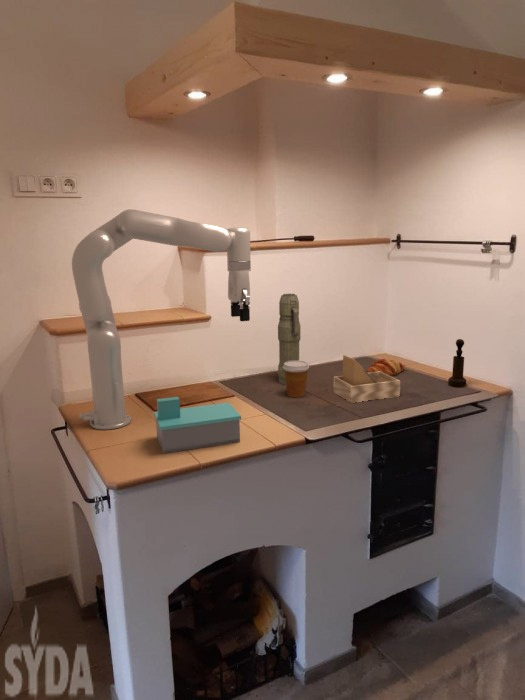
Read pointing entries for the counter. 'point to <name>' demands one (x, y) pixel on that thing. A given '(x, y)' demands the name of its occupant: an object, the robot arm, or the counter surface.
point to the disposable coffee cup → (296, 377)
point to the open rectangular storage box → (368, 388)
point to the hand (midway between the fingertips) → (240, 318)
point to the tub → (198, 436)
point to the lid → (191, 414)
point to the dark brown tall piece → (458, 367)
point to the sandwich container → (355, 373)
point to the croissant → (387, 367)
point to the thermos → (288, 332)
